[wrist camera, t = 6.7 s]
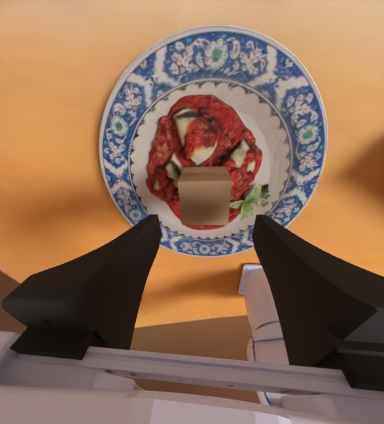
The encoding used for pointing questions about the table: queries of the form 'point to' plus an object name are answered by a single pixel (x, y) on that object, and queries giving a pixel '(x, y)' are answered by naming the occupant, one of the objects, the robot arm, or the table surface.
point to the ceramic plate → (214, 133)
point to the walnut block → (205, 195)
